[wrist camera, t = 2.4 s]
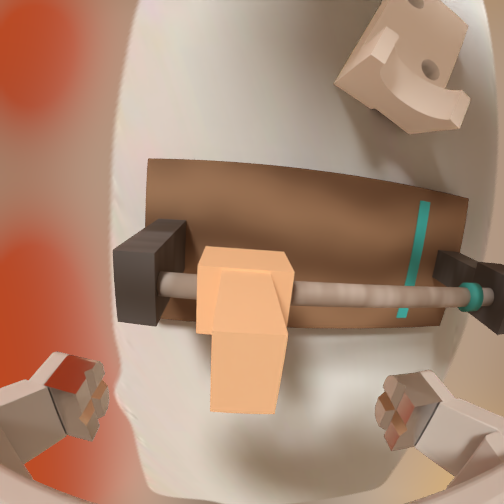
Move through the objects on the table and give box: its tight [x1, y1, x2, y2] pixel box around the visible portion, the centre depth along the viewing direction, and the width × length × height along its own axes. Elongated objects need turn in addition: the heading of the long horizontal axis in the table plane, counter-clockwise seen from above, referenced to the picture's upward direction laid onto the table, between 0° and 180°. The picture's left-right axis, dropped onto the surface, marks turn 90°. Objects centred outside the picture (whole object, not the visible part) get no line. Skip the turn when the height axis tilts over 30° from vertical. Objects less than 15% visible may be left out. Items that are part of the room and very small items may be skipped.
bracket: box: [334, 0, 471, 134], centre depth 16 cm, size 13×7×8 cm, turn 151°
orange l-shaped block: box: [196, 246, 295, 414], centre depth 12 cm, size 3×4×8 cm
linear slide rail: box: [113, 159, 504, 335], centre depth 18 cm, size 12×26×11 cm, turn 85°
